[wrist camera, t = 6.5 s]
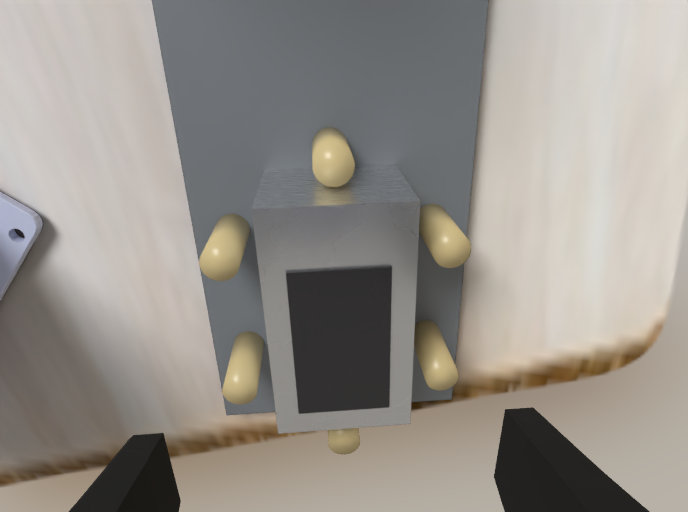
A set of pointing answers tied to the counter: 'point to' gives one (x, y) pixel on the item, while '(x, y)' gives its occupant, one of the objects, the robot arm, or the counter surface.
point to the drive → (338, 296)
